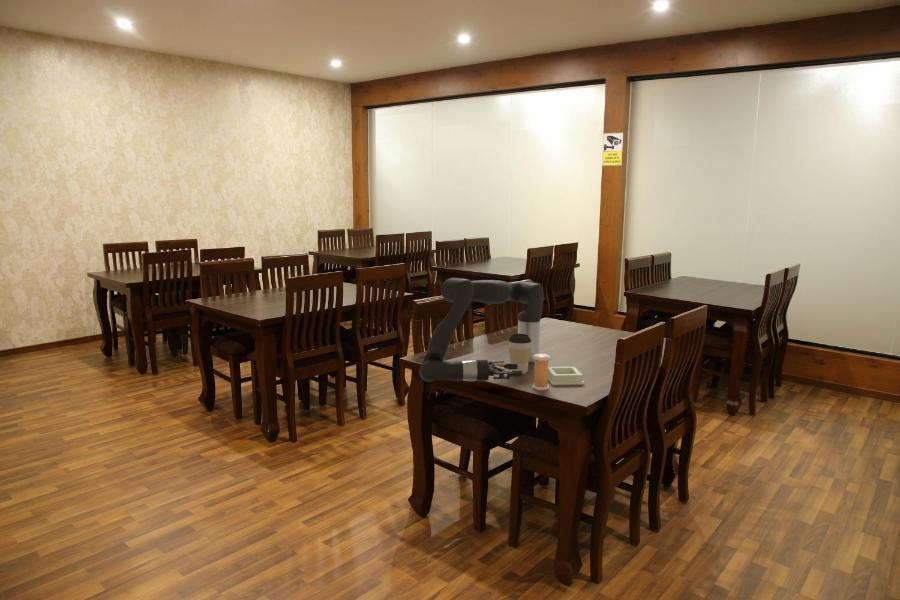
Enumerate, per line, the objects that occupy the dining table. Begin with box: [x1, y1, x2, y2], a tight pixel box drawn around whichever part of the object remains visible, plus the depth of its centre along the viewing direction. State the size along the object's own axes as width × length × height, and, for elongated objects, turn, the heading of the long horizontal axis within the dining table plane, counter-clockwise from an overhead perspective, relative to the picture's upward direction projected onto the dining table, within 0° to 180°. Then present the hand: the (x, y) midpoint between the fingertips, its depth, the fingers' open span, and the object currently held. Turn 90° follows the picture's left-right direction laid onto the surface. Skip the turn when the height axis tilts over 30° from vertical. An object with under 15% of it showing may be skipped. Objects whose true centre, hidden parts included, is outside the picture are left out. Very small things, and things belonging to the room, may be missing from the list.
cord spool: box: [531, 353, 551, 391], centre depth 217 cm, size 6×6×12 cm
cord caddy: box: [548, 366, 585, 386], centre depth 227 cm, size 12×12×4 cm
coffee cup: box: [507, 333, 531, 374], centre depth 237 cm, size 9×9×15 cm
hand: (519, 369), depth 216 cm, fingers open, 8 cm apart
